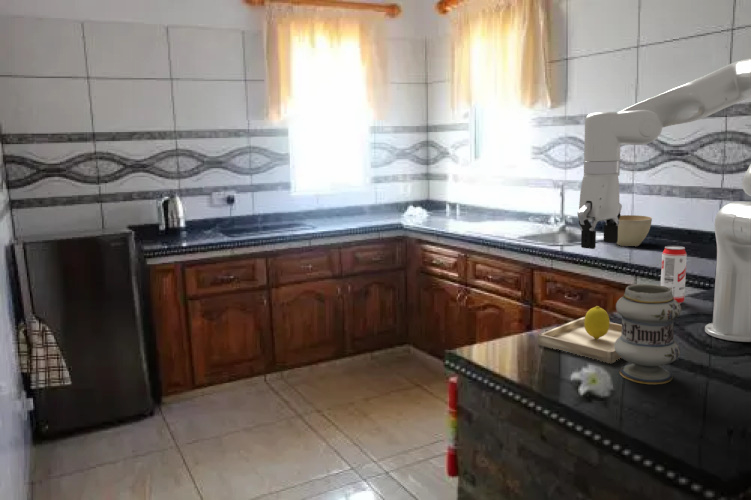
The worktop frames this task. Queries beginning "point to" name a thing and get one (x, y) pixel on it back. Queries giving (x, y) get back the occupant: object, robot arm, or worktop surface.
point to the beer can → (674, 271)
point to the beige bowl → (633, 229)
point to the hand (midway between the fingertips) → (599, 245)
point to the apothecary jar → (647, 333)
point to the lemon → (596, 322)
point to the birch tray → (583, 341)
